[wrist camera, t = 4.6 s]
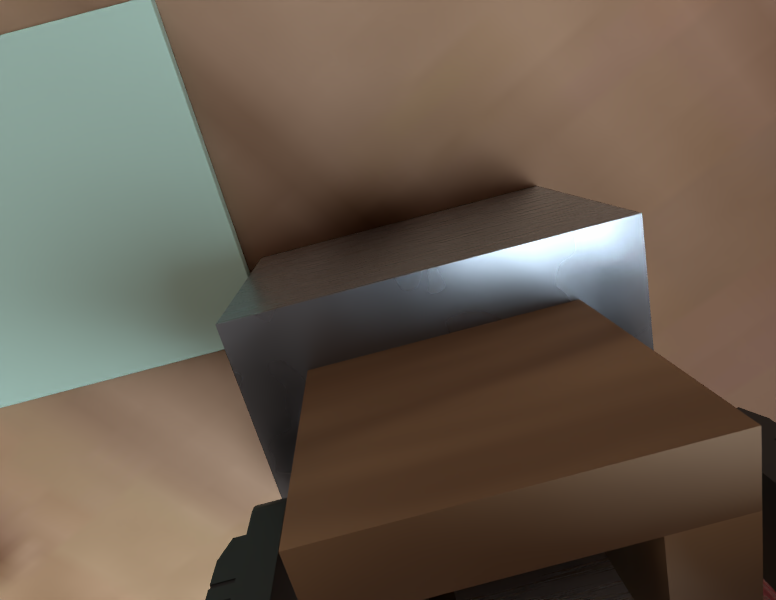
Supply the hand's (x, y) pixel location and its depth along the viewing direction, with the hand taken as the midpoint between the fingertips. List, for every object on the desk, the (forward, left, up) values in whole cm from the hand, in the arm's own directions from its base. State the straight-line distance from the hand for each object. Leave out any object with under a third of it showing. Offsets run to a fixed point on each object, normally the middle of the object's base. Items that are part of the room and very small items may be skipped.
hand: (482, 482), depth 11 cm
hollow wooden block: (0, 0, -1) cm, 1 cm away
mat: (-7, -10, -7) cm, 14 cm away
